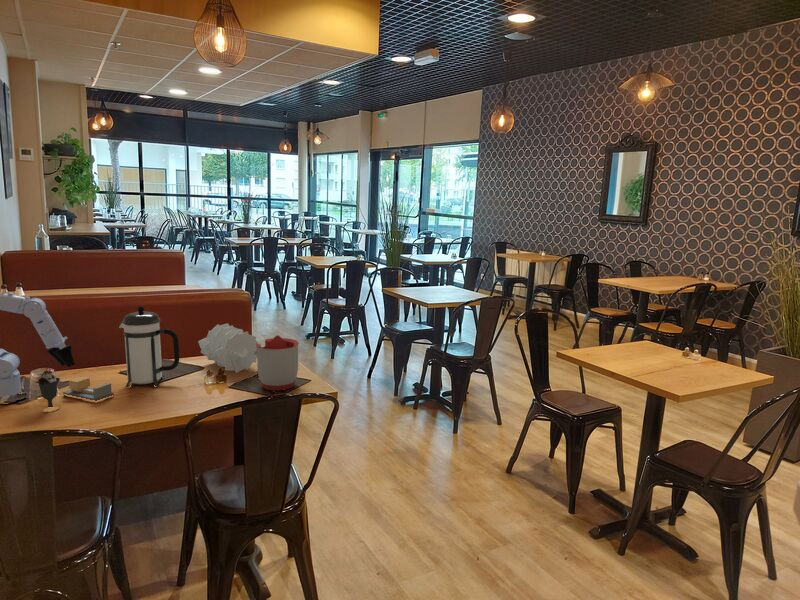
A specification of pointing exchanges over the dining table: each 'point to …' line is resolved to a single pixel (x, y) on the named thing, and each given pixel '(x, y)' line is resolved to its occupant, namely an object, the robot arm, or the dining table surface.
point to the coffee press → (145, 347)
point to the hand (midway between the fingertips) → (68, 365)
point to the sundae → (48, 386)
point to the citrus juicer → (277, 363)
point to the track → (93, 392)
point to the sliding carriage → (79, 383)
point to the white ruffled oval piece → (229, 347)
